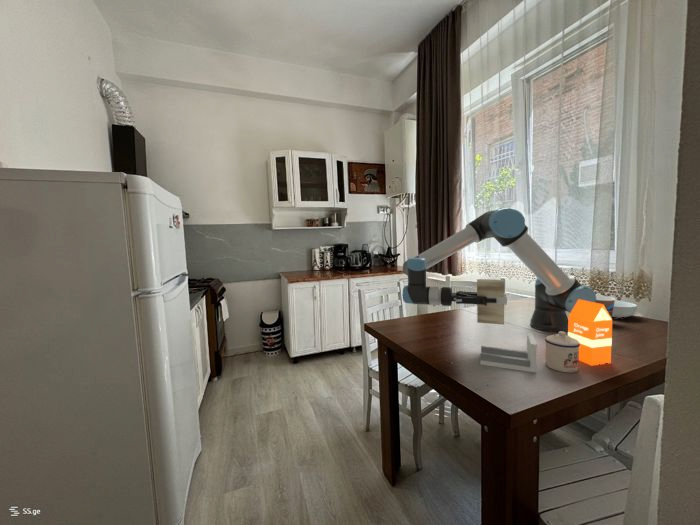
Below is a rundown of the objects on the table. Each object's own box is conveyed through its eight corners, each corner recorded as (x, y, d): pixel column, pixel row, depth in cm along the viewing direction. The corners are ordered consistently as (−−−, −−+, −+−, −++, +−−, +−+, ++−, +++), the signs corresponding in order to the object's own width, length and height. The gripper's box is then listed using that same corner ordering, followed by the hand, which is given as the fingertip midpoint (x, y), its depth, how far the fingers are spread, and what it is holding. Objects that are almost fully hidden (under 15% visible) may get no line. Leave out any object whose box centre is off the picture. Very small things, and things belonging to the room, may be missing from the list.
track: (480, 364, 98) (480, 338, 98) (481, 352, 108) (481, 328, 107) (536, 372, 91) (536, 344, 91) (531, 359, 101) (532, 333, 100)
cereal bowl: (646, 320, 138) (647, 306, 138) (610, 321, 139) (611, 307, 138) (615, 311, 155) (616, 298, 155) (583, 312, 156) (583, 299, 155)
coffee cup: (607, 327, 131) (608, 301, 130) (581, 321, 141) (582, 297, 140) (619, 323, 136) (620, 298, 135) (593, 318, 145) (594, 294, 144)
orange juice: (591, 365, 95) (593, 305, 93) (566, 355, 103) (568, 299, 102) (611, 363, 96) (613, 303, 94) (585, 353, 105) (587, 298, 103)
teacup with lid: (568, 376, 88) (569, 338, 87) (538, 364, 97) (539, 330, 96) (590, 367, 94) (591, 332, 93) (559, 357, 102) (560, 324, 101)
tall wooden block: (477, 319, 115) (477, 279, 114) (503, 321, 111) (503, 279, 110) (477, 322, 111) (477, 280, 109) (504, 324, 107) (504, 281, 106)
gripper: (444, 300, 126) (505, 303, 116) (437, 310, 110) (507, 315, 100) (444, 283, 126) (505, 285, 115) (437, 291, 110) (507, 293, 100)
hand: (506, 299), depth 108 cm, fingers closed on tall wooden block, 4 cm apart
